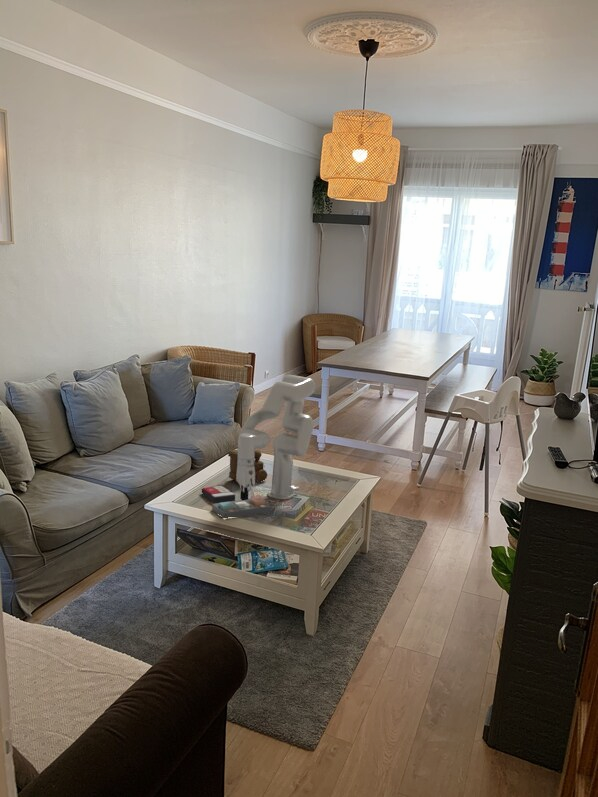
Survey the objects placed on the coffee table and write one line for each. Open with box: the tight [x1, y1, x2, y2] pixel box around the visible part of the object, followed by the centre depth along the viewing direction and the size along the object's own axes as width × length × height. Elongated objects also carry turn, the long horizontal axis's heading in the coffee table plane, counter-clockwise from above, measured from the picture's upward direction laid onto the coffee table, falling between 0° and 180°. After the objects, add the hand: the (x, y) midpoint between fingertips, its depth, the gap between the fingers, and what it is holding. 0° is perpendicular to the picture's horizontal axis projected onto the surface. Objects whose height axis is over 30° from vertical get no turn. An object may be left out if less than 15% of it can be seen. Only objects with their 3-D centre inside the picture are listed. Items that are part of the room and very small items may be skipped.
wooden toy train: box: [227, 448, 268, 483], centre depth 321 cm, size 20×11×17 cm, turn 130°
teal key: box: [219, 502, 234, 511], centre depth 276 cm, size 5×5×2 cm
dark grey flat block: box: [211, 498, 273, 519], centre depth 280 cm, size 24×12×3 cm, turn 123°
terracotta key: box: [249, 496, 266, 506], centre depth 284 cm, size 5×5×2 cm
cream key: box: [235, 501, 250, 508], centre depth 280 cm, size 5×5×2 cm
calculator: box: [201, 485, 236, 504], centre depth 295 cm, size 11×4×15 cm
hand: (244, 499), depth 280 cm, fingers closed
